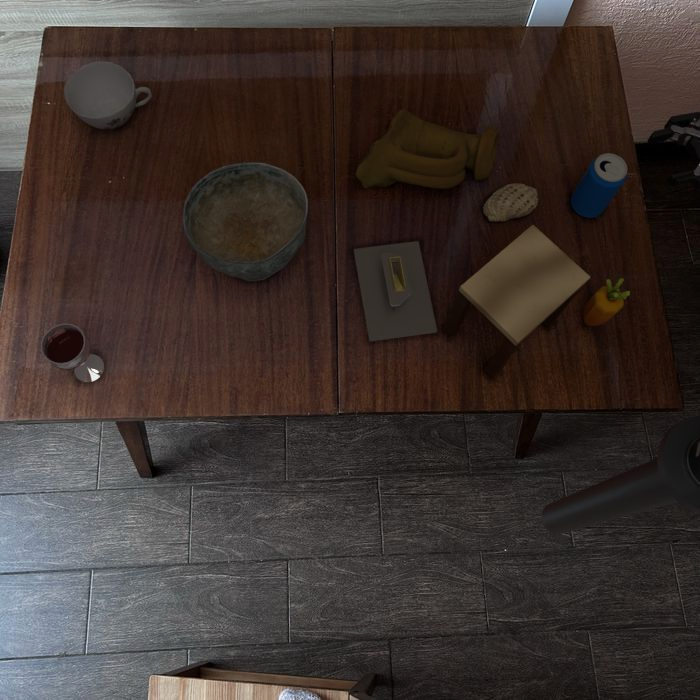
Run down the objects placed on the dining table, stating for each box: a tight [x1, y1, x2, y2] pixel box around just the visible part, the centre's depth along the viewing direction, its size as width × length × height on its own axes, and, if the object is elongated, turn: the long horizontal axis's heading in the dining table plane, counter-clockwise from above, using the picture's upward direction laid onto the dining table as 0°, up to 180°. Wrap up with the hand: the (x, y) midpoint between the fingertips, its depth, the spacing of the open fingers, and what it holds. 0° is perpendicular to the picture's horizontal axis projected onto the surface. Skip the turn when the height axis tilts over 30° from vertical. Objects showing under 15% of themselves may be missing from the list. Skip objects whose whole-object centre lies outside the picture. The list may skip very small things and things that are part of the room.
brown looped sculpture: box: [355, 108, 500, 190], centre depth 126 cm, size 18×13×22 cm
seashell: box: [482, 182, 539, 223], centre depth 127 cm, size 8×6×10 cm
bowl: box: [182, 161, 309, 282], centre depth 118 cm, size 20×19×15 cm
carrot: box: [583, 277, 631, 327], centre depth 115 cm, size 5×5×15 cm
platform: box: [353, 240, 438, 342], centre depth 120 cm, size 12×18×7 cm, turn 9°
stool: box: [441, 224, 591, 380], centre depth 113 cm, size 12×16×18 cm
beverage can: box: [570, 152, 628, 219], centre depth 124 cm, size 6×6×12 cm
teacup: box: [63, 60, 153, 130], centre depth 130 cm, size 15×12×8 cm
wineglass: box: [40, 322, 105, 383], centre depth 111 cm, size 7×7×12 cm
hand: (659, 159), depth 121 cm, fingers open, 8 cm apart
